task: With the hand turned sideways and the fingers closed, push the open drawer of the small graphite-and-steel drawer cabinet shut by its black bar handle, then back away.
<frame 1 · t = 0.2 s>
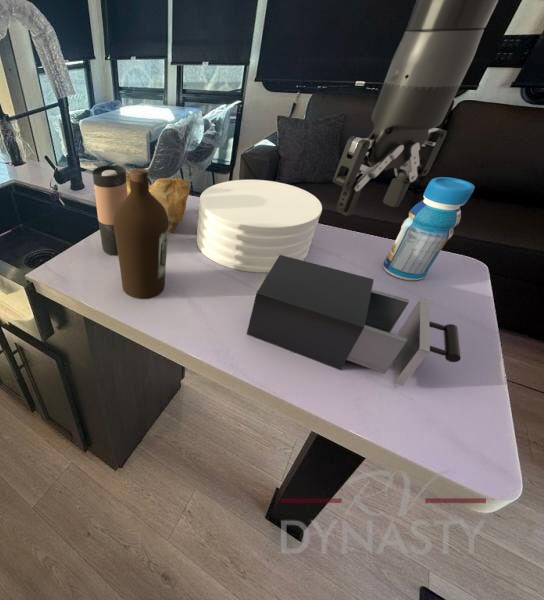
hand: (367, 209, 49), 22 cm above the kitchen island, tool pointing down, fingers open, 8 cm apart
cabinet: (300, 327, 61), on the kitchen island
beverage bottle: (402, 271, 74), on the kitchen island
travel mug: (116, 249, 86), on the kitchen island
drawer: (378, 330, 53), point 5 cm above the kitchen island, slide at 7.0 cm
olive oil: (143, 286, 73), on the kitchen island
plate stack: (250, 242, 86), on the kitchen island
crumpled paper bag: (159, 222, 97), on the kitchen island
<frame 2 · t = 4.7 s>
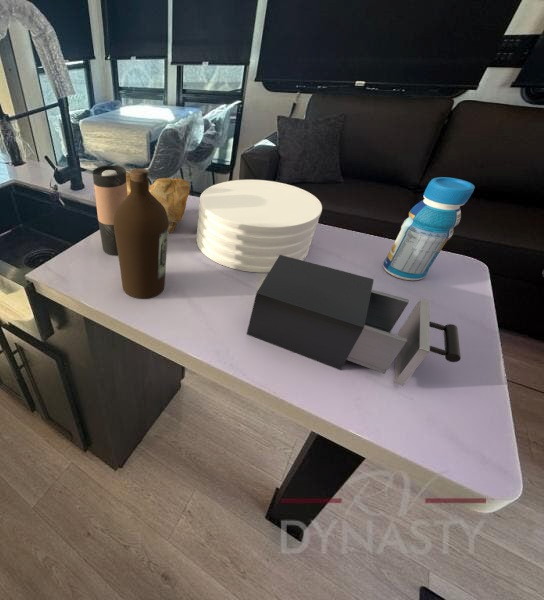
nothing on the kitchen island moved.
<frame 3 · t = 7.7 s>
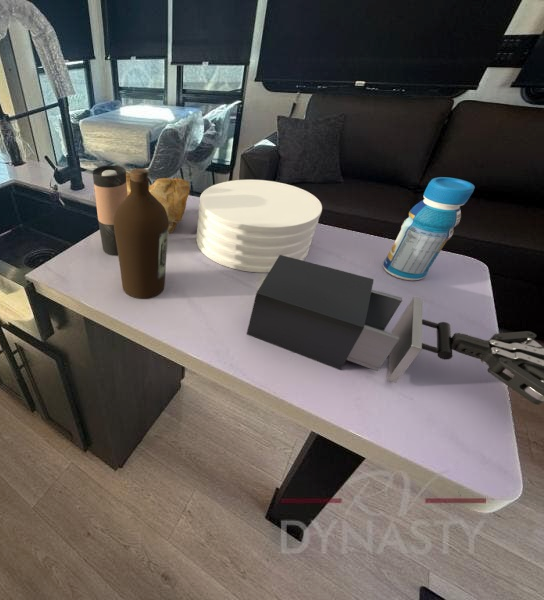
hand: (452, 340, 48), 7 cm above the kitchen island, tool horizontal, fingers closed
drawer: (372, 328, 54), point 5 cm above the kitchen island, slide at 6.1 cm, touching gripper
everything else where it was.
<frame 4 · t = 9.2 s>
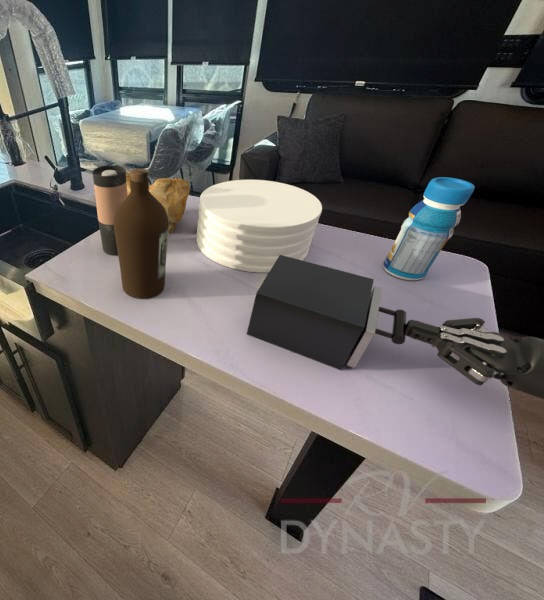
hand: (406, 327, 51), 7 cm above the kitchen island, tool horizontal, fingers closed
drawer: (334, 316, 56), point 5 cm above the kitchen island, slide at 0.4 cm, touching gripper
everything else where it was.
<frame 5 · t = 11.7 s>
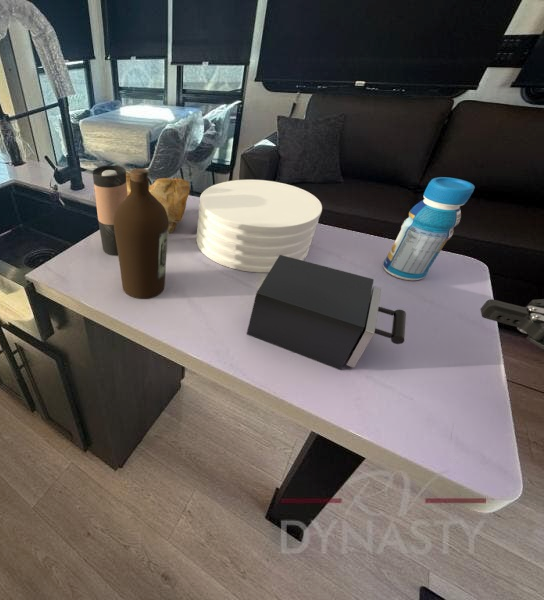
hand: (484, 307, 44), 14 cm above the kitchen island, tool horizontal, fingers closed
drawer: (334, 316, 56), point 5 cm above the kitchen island, slide at 0.4 cm
everything else where it was.
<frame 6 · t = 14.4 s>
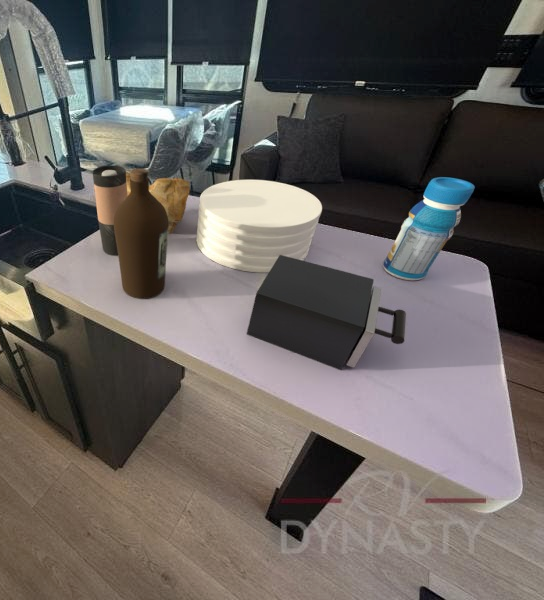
nothing on the kitchen island moved.
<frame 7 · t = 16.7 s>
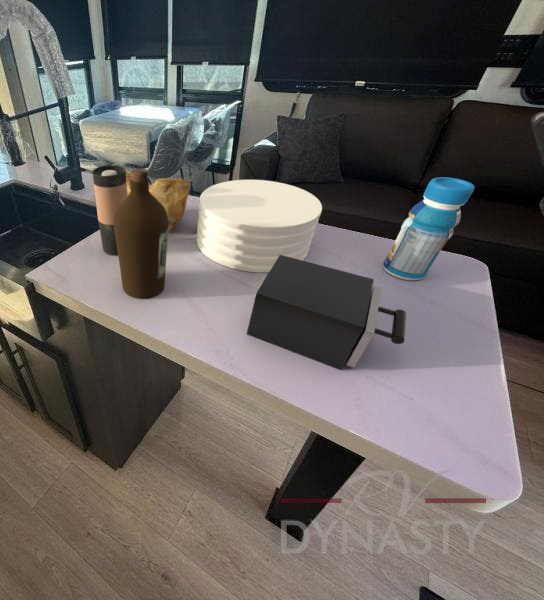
nothing on the kitchen island moved.
at the end: drawer slide at 0.4 cm; travel mug moved 0.2 cm from its start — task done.
